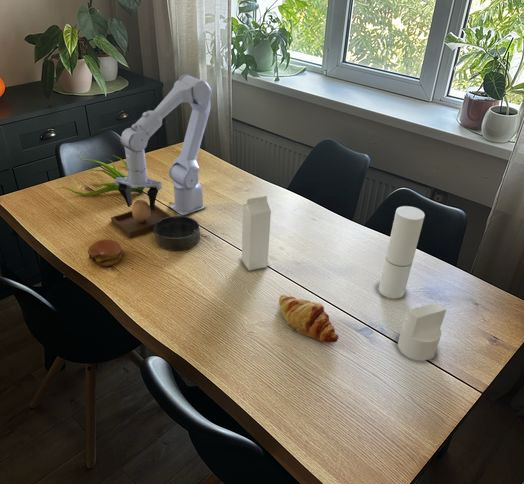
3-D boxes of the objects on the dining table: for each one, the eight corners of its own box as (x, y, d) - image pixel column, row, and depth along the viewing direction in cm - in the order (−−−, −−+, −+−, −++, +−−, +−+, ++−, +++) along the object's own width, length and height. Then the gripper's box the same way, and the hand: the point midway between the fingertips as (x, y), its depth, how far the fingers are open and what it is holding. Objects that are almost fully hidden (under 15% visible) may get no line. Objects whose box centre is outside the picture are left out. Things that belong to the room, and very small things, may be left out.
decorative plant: (83, 177, 192) (76, 140, 184) (150, 191, 184) (146, 153, 176) (51, 195, 178) (43, 156, 170) (122, 212, 171) (117, 172, 162)
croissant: (271, 316, 134) (261, 301, 128) (296, 290, 136) (287, 274, 130) (327, 360, 121) (319, 345, 115) (354, 331, 123) (347, 315, 117)
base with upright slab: (413, 364, 117) (424, 326, 110) (390, 340, 124) (400, 302, 117) (443, 354, 120) (456, 317, 113) (419, 331, 127) (430, 294, 120)
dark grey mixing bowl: (183, 223, 166) (183, 211, 164) (208, 241, 158) (208, 229, 155) (146, 236, 158) (144, 224, 156) (170, 256, 150) (169, 243, 147)
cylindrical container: (405, 286, 142) (425, 209, 128) (402, 301, 137) (423, 221, 123) (380, 281, 144) (397, 204, 130) (376, 294, 139) (394, 216, 124)
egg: (150, 226, 163) (148, 204, 158) (132, 226, 162) (129, 204, 158) (152, 217, 168) (150, 195, 163) (134, 217, 167) (132, 195, 163)
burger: (119, 246, 153) (117, 233, 150) (126, 262, 146) (124, 249, 143) (86, 253, 149) (84, 240, 147) (91, 269, 142) (89, 256, 140)
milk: (267, 267, 148) (272, 200, 135) (248, 271, 145) (251, 204, 133) (259, 256, 152) (263, 191, 139) (241, 260, 150) (243, 194, 137)
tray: (154, 209, 174) (153, 203, 172) (173, 223, 166) (173, 217, 165) (111, 222, 165) (110, 217, 163) (129, 238, 157) (129, 232, 156)
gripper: (109, 170, 152) (115, 210, 159) (155, 175, 150) (158, 215, 158) (118, 161, 157) (123, 200, 165) (162, 166, 156) (165, 204, 164)
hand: (141, 206), depth 162 cm, fingers open, 7 cm apart
